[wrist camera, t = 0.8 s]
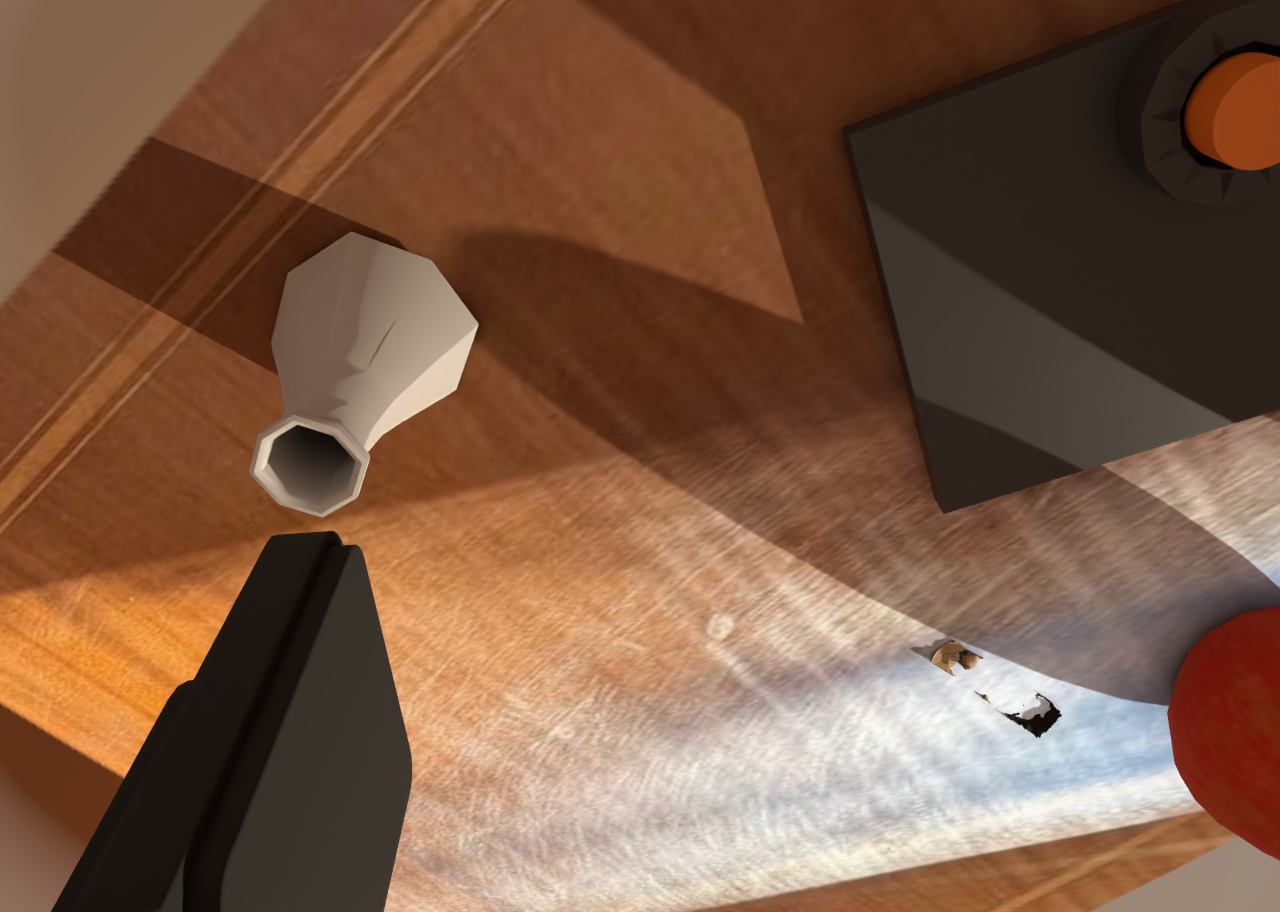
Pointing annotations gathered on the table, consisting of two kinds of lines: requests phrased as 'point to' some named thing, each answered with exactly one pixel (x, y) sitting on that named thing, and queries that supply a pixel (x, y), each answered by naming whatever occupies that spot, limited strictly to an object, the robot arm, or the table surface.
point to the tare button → (1237, 112)
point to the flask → (355, 365)
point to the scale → (1075, 255)
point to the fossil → (969, 661)
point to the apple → (1233, 726)
